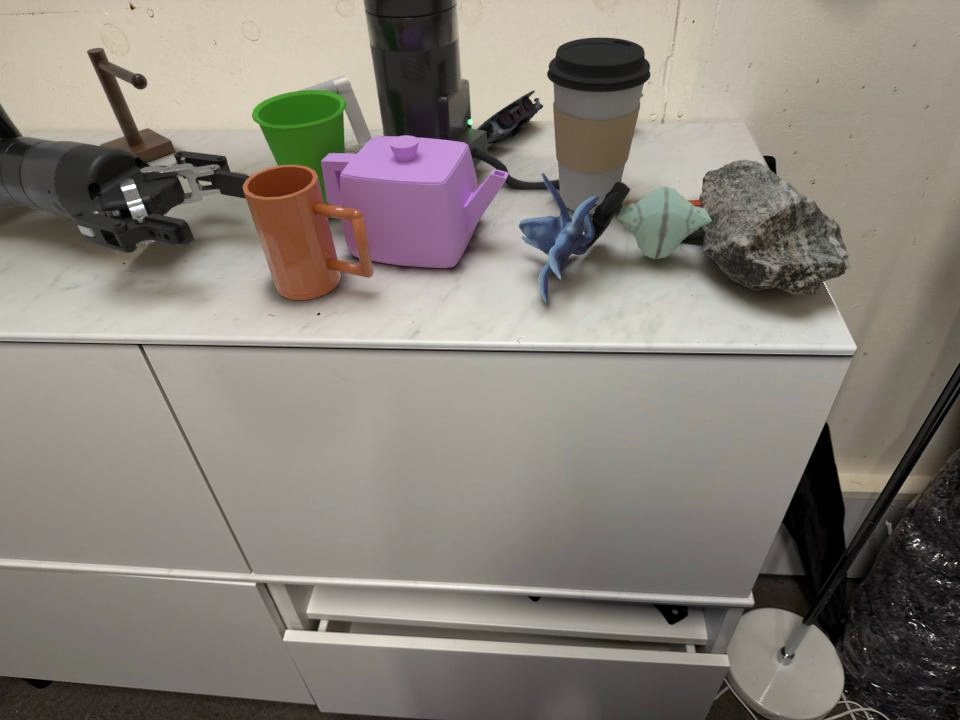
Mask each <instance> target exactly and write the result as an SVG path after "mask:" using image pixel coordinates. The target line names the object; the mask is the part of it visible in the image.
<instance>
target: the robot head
mask: <svg viewBox="0 0 960 720" xmlns="http://www.w3.org/2000/svg"><path fill="white" fill-rule="evenodd" d="M687 200H688V199H686V198H684V197H683V196H682V194H680V192H679V191H677V190H676V188H672V187H669V186H662V187H655V188H654V189H652V191H650V192H649V193H647V194H646V195H645V196H643V197H642V198H641V199H640V200H638V201H636V202H637V203H635V204H634V205H626V204H625V205H623V206H622V208H621V210H620V212H619V214H618V213H617V217H616V219H617V220H618V221H619V222H620V223H621V225H623V226H624V227H625V228H626V229H627V230H628V231H630V232H631V233H632V235H633V236H634V238H635V241H636V244H637V246H638V248H639V250H640V251H641V252H642V253H643V255H644V256H645V257H647V258H650V259H653V260H659V259H665V258H667V257H668V256H670V255H671V254H672V253H673V252H675V251H676V249H678V247H679V245H680V244H681V243H682V242H683V241H685V240H684V239H685V238H686V237H687V236H689V235H690V234H691V233H692V232H694V231H696V230H699V229H702V227H703V226H704V225H706V224H708V223H710V222H711V221H712V220H711V218H710V217H709V215H708V213H707V211H706V209H705V208H700V207H696V206H694V205H693V204H691V203H690V202H689V201H687Z"/></svg>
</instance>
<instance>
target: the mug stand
mask: <svg viewBox="0 0 960 720" xmlns="http://www.w3.org/2000/svg"><path fill="white" fill-rule="evenodd" d="M86 53H87V56H88V58H89V60H90V62H91V65H92V67H93V70H94V71H95V73H96V76H97V78H98V80H99V82H100V85H101V87H102V90H103V91H104V94H105V96H106V98H107V100H108V103H109V105H110V107H111V109H112V111H113V114H114V116H115V119H116V121H117V123H118V125H119V128H120V130H121V133H122V134H123V136H121V137H118V138H115V139H112V140H109V141H106V142H103V143H100V144H99V146H103V147H109V148H115V149H122V150H126V151H129V152H131V153H133V154H135V155H136V156H138V157H139V158H140V159H141V160H143V161H144V162H145V163H148V162H152V161H154V160H157V159H159V158H162V157H165V156H167V155H170V154H174V153H176V149H175V146H174V144H173V142H172V140H171V139H169V138H167V137H166V136H164V135H162V134H160V133H158V132H157V131H154V130H152V129H151V128H149V127H146V128H144V129H141V130H139V128H138V126H137V123H136V122H135V118H134V117H133V114H132V112H131V110H130V108H129V105H128V103H127V100H126V98H125V96H124V93H123V91H122V88H121V86H120V84H119V82H118V80H117V78H118V79H120V80H122V81H123V82H126V83H129V84H130V85H132V87H133V88H135V89H137V90H139V91H140V90H145V89H146V88H147V87H148V79H147V78H146V76H145V75H144V74H141V73H136V72H135V73H134V72H132V71H131V70H129V69H126V68H124V67H121V66H119V65H117V64H115V63H113V62H111V61H109V58H108V56H107V54H106V51H105V49H104V48H103V47H94V48H90V49H88V50H87V51H86Z"/></svg>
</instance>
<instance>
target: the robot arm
mask: <svg viewBox="0 0 960 720" xmlns="http://www.w3.org/2000/svg"><path fill="white" fill-rule="evenodd" d="M363 6H364V7H363V8H364V13H365V14H364V15H365V21H366V27H367V33H368V40H369V46H370V47H369V49H370V52H371V54H370V55H371V61H372V68H373V73H374V79H375V86H376V94H377V100H378V106H379V113H380V119H381V124H382V125H381V126H382V136H396V137H398V136H404V135H408V136H414V137H417V138H430V139H441V140H450V141H457V142H463V143H466V144H467V145H468V146H469V149H470V152H471V156H472V160H473V164H474V167H476V165H478V164H479V163H480V162H481V161H482V162H483V163H486V164H488V165H490V166H491V167H493V169H497V170H500V171H504V172H508V173H509V174H508V177H507V179H506V181H505V183H504V184H506V185H508V186H509V187H511V188H513V189H515V190H516V189H517V190H523V191H531V190H532V191H535V190H537V191H538V190H548V188H547V186H546V185H545V183H544V181H537V182H536V181H535V182H533V181H532V182H531V181H523V180H520V179H517V178H515V177H513V176H511V175H510V172H509V169H508V168H507V166H506V165H505V164H504V163H503V162H502V161H501V160H500V159H499V158H497V157H496V156H493V155H491V154H489V153H488V147H487V132H486V131H483V130H477V128H472V124H473V120H472V109H471V91H470V90H471V88H470V81H469V80H468V79H467V78H463V77H462V61H461V60H462V59H461V46H460V43H461V42H460V29H459V28H460V27H459V26H460V25H459V13H458V12H459V10H458V0H363ZM173 156H174V159H175V162H174V163H173V164H171V165H164V164H163V165H162V164H161V165H150V164H148V162H146V163H145V162H144V161H143V160H141V159H140V158H139V157H138V156H136V155H135V154H133V153H131V152H129V151H126V150H122V149H115V148H109V147H103V146H100V145H98V144H97V145H96V144H91V143H85V142H79V141H70V140H50V139H44V138H39V137H32V136H24V135H23V134H22V133H21V131H20V129H19V128H18V127H17V125H16V124H15V122H14V121H13V120H12V118H11V117H10V115H9V114H8V113H7V111H6V109H5V108H4V106H3V105H2V103H1V102H0V209H7V208H14V207H15V208H16V207H25V208H29V209H34V210H38V211H41V212H46V213H51V214H53V215H56V216H58V217H61V218H64V219H67V220H70V221H71V220H72V221H74V222H75V224H76V226H77V228H78V230H79V231H80V233H81V235H82V237H83V239H84V240H85V242H87V243H90V244H93V245H98V246H101V247H104V248H108V249H111V250H114V251H117V252H121V253H124V254H130V253H133V252H135V251H136V250H137V249H138V244H140V243H142V242H144V244H153V243H155V242H159V243H163V244H169V245H173V246H177V245H182V246H185V247H188V246H190V245H191V244H192V243H193V242H194V241H195V237H194V234H193V231H192V229H191V227H190V225H189V223H188V222H187V221H186V220H185V219H183V218H179V217H178V218H177V217H174V216H168V215H167V214H168V213H169V212H170V211H171V210H172V209H173V208H174V209H175V207H178V206H180V205H186V204H193V203H197V202H201V201H202V200H203V198H204V197H206V196H211V195H217V194H220V195H223V196H229V197H233V198H238V199H244V200H246V197H245V194H244V191H243V185H244V183H245V181H246V180H247V179H248V178H249V177H250V175H249V174H246V173H240V172H234V171H231V168H230V165H229V162H228V158H227V156H225V155H221V154H211V153H203V152H195V151H194V152H193V151H187V150H179V151H175V152H174V153H173ZM179 178H183V179H185V180H187V183H188V186H189V189H190V192H185V190H184V187H183V185H182V183H181V180H180V179H179ZM549 181H550V182H551V183H552V185H553V186H554V187H555V188H556V190H560V186H559V179H554V180H549ZM200 182H206V183H207V182H208V183H210V184H206V185H202V184H201V183H200ZM622 206H624V204H623V203H622V204H621V205H620V207H619V209H618V210H617V212H616V214H617V215H618V214H619V212H620V210H621V208H622ZM704 236H705V232H704V230H699V229H697V230H696V231H694V232H692V233H691V234H690V235H689V236H687V237H686V238H685V239H684V240H683V241H693V242H703V237H704Z"/></svg>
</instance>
